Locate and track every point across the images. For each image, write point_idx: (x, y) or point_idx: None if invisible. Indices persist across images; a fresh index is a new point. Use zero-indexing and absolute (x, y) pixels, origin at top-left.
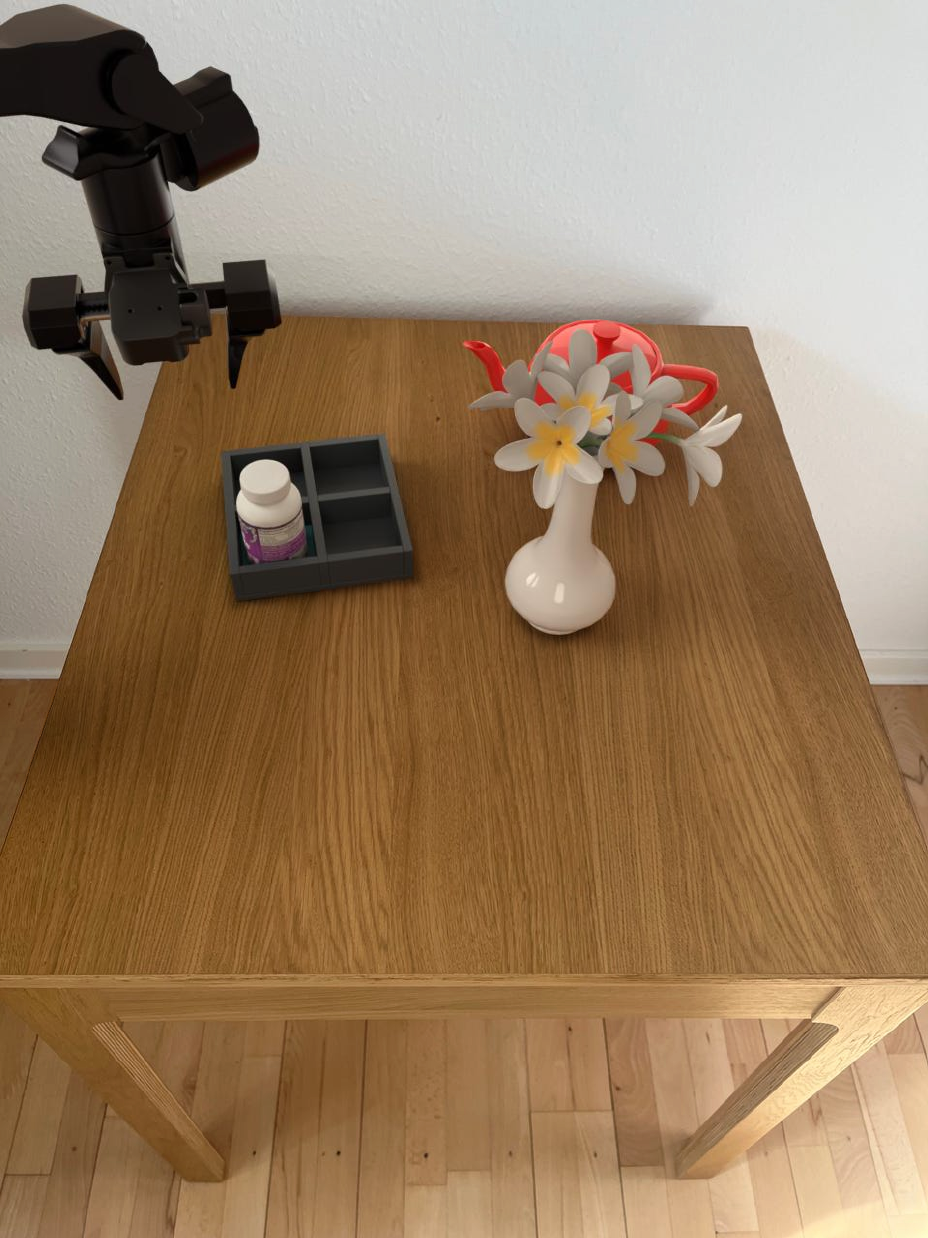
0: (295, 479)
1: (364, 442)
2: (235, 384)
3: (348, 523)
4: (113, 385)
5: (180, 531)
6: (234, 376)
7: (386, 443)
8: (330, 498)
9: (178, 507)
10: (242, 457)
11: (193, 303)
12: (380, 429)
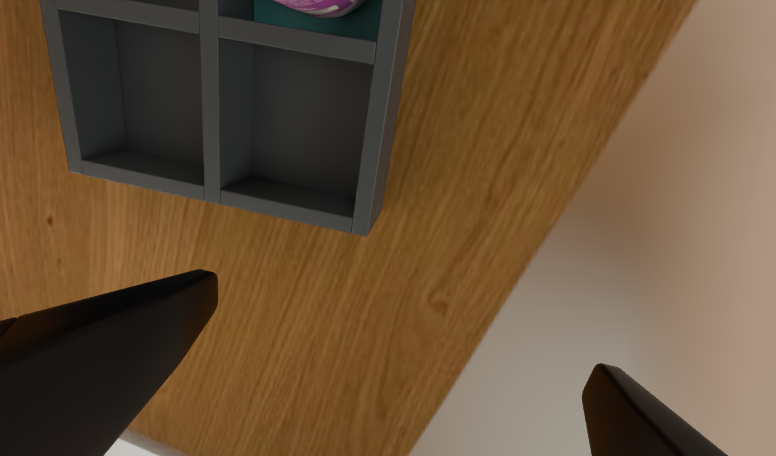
0: (267, 161)
1: (108, 163)
2: (184, 274)
3: (188, 6)
4: (667, 424)
5: (492, 112)
6: (148, 287)
7: (64, 141)
8: (172, 11)
9: (478, 176)
10: (332, 210)
11: None
12: (132, 231)
